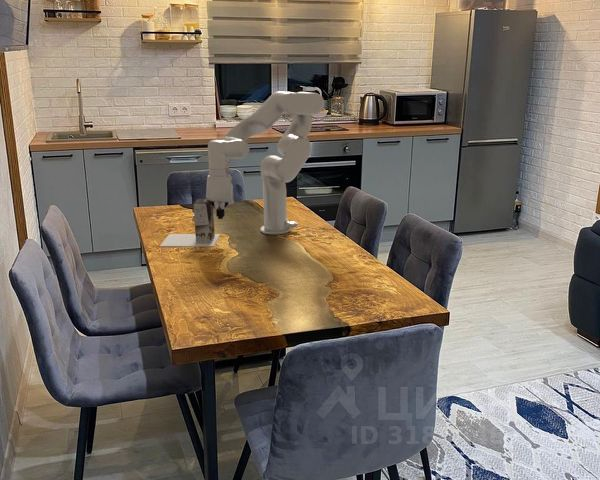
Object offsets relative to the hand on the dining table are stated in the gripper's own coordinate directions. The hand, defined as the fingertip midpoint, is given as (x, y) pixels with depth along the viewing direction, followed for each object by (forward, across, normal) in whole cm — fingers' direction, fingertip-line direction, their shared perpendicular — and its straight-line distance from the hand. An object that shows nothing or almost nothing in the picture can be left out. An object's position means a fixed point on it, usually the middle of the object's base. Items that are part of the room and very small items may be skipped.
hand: (220, 218), depth 234 cm
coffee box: (+9, +6, 0) cm, 11 cm away
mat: (+9, +12, 0) cm, 16 cm away
